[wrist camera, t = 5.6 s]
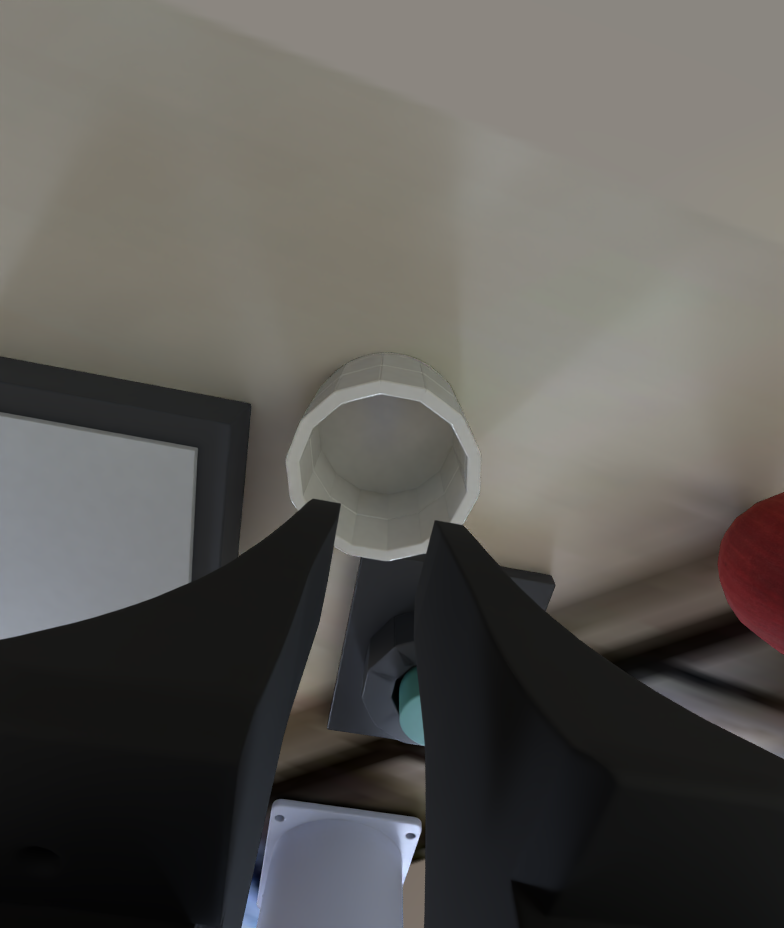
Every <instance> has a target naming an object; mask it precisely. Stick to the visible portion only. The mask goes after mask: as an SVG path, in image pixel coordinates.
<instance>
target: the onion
mask: <svg viewBox="0 0 784 928" xmlns="http://www.w3.org/2000/svg"><path fill="white" fill-rule="evenodd" d="M718 571H719V578H720V582H721V585H722V588H723V591H724V593H725V596H726V599H727V602H728V604H729V605H730V607H731V608H732V610H733V611H734V613H735V614H736V616H737V617H738V618H739V620H740V621H741V622H742V623H743V624H744V625H745V626H747V627H748V628H749V629H750V630H751V631H753V632H754V633H755V634H756V635H758V636H759V637H760V638H761V639H763V640H764V641H765V642H767V643H768V644H769V645H771V646H772V647H773V648H775V649H776V650H777V651H779V652H780V653H781V654H783V655H784V492H783V493H780V494H778V495H775V496H773V497H770V498H768V499H765V500H763V501H760V502H758V503H756V504H754V505H753V506H752V507H751V508H750V509H748V510H747V511H746V512H744V513H742V514H741V515H739V516H738V517H737V518H736V519H735V520H734V522H733V523H732V524H731V526H730V527H729V528H728V530H727V531H726V533H725V535H724V537H723V539H722V541H721V544H720V551H719V557H718Z"/></svg>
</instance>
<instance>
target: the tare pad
mask: <svg viewBox="0 0 784 928" xmlns="http://www.w3.org/2000/svg"><path fill="white" fill-rule="evenodd" d="M425 556H426V554H420V555H415V556H410V557H406V558H401V559H397V560H392V561H381V560H375V559H370V558H364V557H361V559H360V564H359V569H358V574H357V579H356V584H355V589H354V594H353V599H352V604H351V609H350V614H349V619H348V624H347V629H346V634H345V639H344V644H343V649H342V654H341V658H340V663H339V668H338V673H337V678H336V683H335V688H334V693H333V698H332V703H331V708H330V713H329V718H328V725H327V729H329V730H335V731H342V732H349V733H356V734H363V735H370V736H376V737H383V738H390V739H397V740H399V741H401V742H404V743H409V744H416V745H421V744H418V743H416V742H414V741H413V740H411V739H410V738H409V737H408V736H407V735H406V734H405V733H404V732H403V730H402V728H401V725H400V721H399V686H400V683H401V680H402V678H403V677H404V675H405V674H406V673H407V672H408V671H409V670H410V669H412V668H413V667H415V666H417V665H416V655H415V645H414V608H415V594H416V590H417V587H418V583H419V579H420V575H421V571H422V567H423V563H424V559H425ZM501 568H502V569H503V570H504V571H505V572H506V573H507V575H508V576H509V577H510V578H511V579H512V580H513V581H514V582H515V583H516V584H517V585H518V586H519V587H520V588H521V589H522V590H523V591H524V592H525V593H526V594H527V595H528V596H529V597H530V598H532V599H533V600H534V601H535V602H536V603H537V604H538V605H539V606H540V607H541V608H542V609H543V610H544V611H546V609H547V606H548V603H549V601H550V598H551V596H552V593H553V591H554V588H555V582H554V580H553V578H552V576H551V575H546V574H540V573H535V572H529V571H523V570H517V569H511V568H506V567H501ZM422 746H424V745H422Z"/></svg>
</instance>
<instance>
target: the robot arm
mask: <svg viewBox="0 0 784 928" xmlns="http://www.w3.org/2000/svg"><path fill="white" fill-rule="evenodd" d="M340 508H341V503H336V502H330V501H325V500H319V499H312V500H310V501H308V502H307V503H306V504H305V505H304V506H303V507H302V508H301V509H300V510H299V511H298V512H297V513H295V514H294V515H293V516H292V517H291V518H290V519H289V520H288V521H286V522H285V523H284V524H283V525H282V526H280V527H279V528H278V529H277V530H275V531H274V532H273V533H271V534H270V535H269V536H268V537H266V538H265V539H264V540H262V541H261V542H260V543H258V544H257V545H255V546H254V547H252V548H251V549H249V550H248V551H246V552H245V553H243V554H242V555H241V556H239V557H237V558H236V559H234V560H233V561H231V562H229V563H228V564H226V565H224V566H223V567H221V568H219V569H217V570H215V571H213V572H211V573H209V574H207V575H205V576H203V577H201V578H199V579H197V580H195V581H192V582H190V583H188V584H185V585H183V586H181V587H178V588H176V589H173V590H171V591H169V592H166V593H164V594H162V595H159V596H157V597H154V598H152V599H149V600H146V601H143V602H140V603H138V604H135V605H132V606H129V607H126V608H123V609H120V610H116V611H113V612H110V613H107V614H103V615H100V616H97V617H93V618H90V619H86V620H83V621H79V622H75V623H71V624H67V625H62V626H58V627H54V628H50V629H45V630H41V631H37V632H33V633H29V634H24V635H20V636H16V637H11V638H6V639H1V640H0V928H241V926H242V921H243V917H244V912H245V908H246V903H247V898H248V894H249V889H250V885H251V880H252V876H253V871H254V866H255V862H256V857H257V853H258V848H259V844H260V839H261V835H262V830H263V826H264V821H265V817H266V812H267V808H268V803H269V799H270V794H271V790H272V785H273V781H274V776H275V772H276V767H277V763H278V758H279V754H280V749H281V745H282V741H283V736H284V733H285V729H286V726H287V722H288V718H289V715H290V712H291V709H292V705H293V702H294V699H295V696H296V693H297V690H298V687H299V684H300V681H301V678H302V675H303V671H304V668H305V665H306V662H307V659H308V656H309V653H310V650H311V647H312V644H313V640H314V637H315V634H316V631H317V628H318V625H319V621H320V617H321V612H322V607H323V602H324V597H325V592H326V587H327V582H328V576H329V570H330V565H331V559H332V553H333V548H334V542H335V536H336V530H337V525H338V519H339V513H340ZM414 645H415V655H416V665H417V675H418V684H419V693H420V703H421V712H422V721H423V731H424V744H425V773H426V852H425V866H426V867H425V869H426V870H425V917H424V928H784V759H782V758H780V757H778V756H776V755H774V754H772V753H770V752H768V751H766V750H764V749H763V748H761V747H759V746H757V745H755V744H753V743H751V742H749V741H747V740H745V739H743V738H741V737H739V736H737V735H735V734H733V733H731V732H729V731H727V730H725V729H723V728H721V727H719V726H717V725H715V724H713V723H711V722H709V721H707V720H705V719H703V718H701V717H699V716H698V715H696V714H694V713H692V712H691V711H689V710H687V709H685V708H684V707H682V706H680V705H678V704H677V703H675V702H673V701H672V700H670V699H668V698H666V697H665V696H663V695H661V694H659V693H658V692H656V691H654V690H653V689H651V688H650V687H648V686H646V685H645V684H643V683H642V682H640V681H638V680H637V679H635V678H634V677H632V676H630V675H629V674H627V673H626V672H625V671H623V670H622V669H620V668H619V667H617V666H616V665H614V664H613V663H611V662H610V661H608V660H607V659H606V658H604V657H603V656H601V655H600V654H598V653H597V652H595V651H594V650H593V649H591V648H590V647H589V646H587V645H586V644H585V643H583V642H582V641H581V640H579V639H578V638H577V637H576V636H574V635H573V634H572V633H571V632H569V631H568V630H567V629H566V628H565V627H563V626H562V625H561V624H560V623H558V622H557V621H556V620H555V619H553V618H552V617H551V616H550V615H549V614H548V613H547V612H545V611H544V610H543V609H542V608H541V607H540V606H539V605H538V604H537V603H536V602H535V601H534V600H533V599H532V598H530V597H529V596H528V595H527V594H526V593H525V592H524V591H523V590H522V589H521V588H520V587H519V586H518V585H517V584H516V583H515V582H514V581H513V580H512V579H511V578H510V577H509V576H508V575H507V573H506V572H505V571H504V570H503V569H502V568H501V567H500V566H499V565H498V564H497V563H496V562H495V560H494V559H493V558H492V557H491V556H490V555H489V554H488V553H487V551H486V550H485V549H484V548H483V547H482V546H481V545H480V543H479V542H478V541H477V540H476V539H475V538H474V537H473V536H472V534H471V533H470V532H469V531H468V530H467V529H466V528H465V527H464V526H463V525H460V524H454V523H449V522H443V521H438V520H435V521H434V525H433V529H432V532H431V536H430V540H429V544H428V548H427V552H426V556H425V559H424V563H423V567H422V571H421V575H420V579H419V583H418V587H417V590H416V594H415V608H414ZM421 830H422V826H421V821H420V819H418V818H417V817H412V816H405V815H397V814H390V813H383V812H375V811H368V810H361V809H354V808H346V807H339V806H332V805H324V804H317V803H310V802H302V801H295V800H288V799H278V800H276V801H274V802H273V805H272V809H271V815H270V822H269V828H268V835H267V841H266V847H265V854H264V860H263V867H262V873H261V879H260V886H259V892H258V899H257V907H258V908H259V909H260V913H259V918H258V922H257V927H256V928H403V887H402V886H403V883H404V881H405V878H406V875H407V872H408V869H409V866H410V863H411V860H412V857H413V854H414V851H415V848H416V845H417V842H418V839H419V836H420V833H421Z"/></svg>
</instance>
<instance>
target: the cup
mask: <svg viewBox="0 0 784 928" xmlns="http://www.w3.org/2000/svg"><path fill="white" fill-rule="evenodd" d="M285 462H286V470H287V478H288V487H289V495H290V499H291V501H292V503H293V504H294V506H295V507H296V509H297V510H298V511H299V510H300V509H301V508H302V507H303V506H304V505H305V504H306V503H307V502H308V501H310V500H312V499H319V500H325V501H330V502H336V503H341V508H340V513H339V519H338V525H337V530H336V536H335V542H334V547H336V548H337V549H339V550H340V551H342V552H343V553H345V554H348V555H352V556H358V557H364V558H370V559H375V560H381V561H392V560H397V559H401V558H406V557H410V556H415V555H420V554H424V553H426V552H427V548H428V544H429V540H430V536H431V532H432V529H433V525H434V521H435V520H438V521H443V522H449V523H454V524H460V525H463V524H464V522H465V520H466V518H467V517H468V515H469V513H470V511H471V509H472V508H473V506H474V504H475V502H476V501H477V499H478V497H479V494H480V481H481V452H480V449H479V447H478V445H477V442H476V440H475V438H474V435H473V433H472V431H471V428H470V426H469V424H468V421H467V419H466V417H465V414H464V412H463V410H462V408H461V406H460V404H459V402H458V400H457V398H456V395H455V394H454V392H453V390H452V387H451V385H450V384H449V383H448V381H446V380H445V379H444V378H443V377H442V376H441V375H440V374H439V373H438V372H437V371H436V370H434V369H433V368H432V367H431V366H429V365H427V364H426V363H424V362H422V361H420V360H418V359H415V358H413V357H410V356H406V355H402V354H396V353H377V354H370V355H366V356H363V357H359V358H357V359H355V360H352V361H350V362H348V363H347V364H345V365H343V366H342V367H341V368H339V369H338V370H337V371H336V372H334V373H333V374H332V375H331V376H330V378H329V379H328V380H327V381H326V382H325V383H324V384H322V385H321V387H320V388H319V390H318V391H317V393H316V395H315V397H314V398H313V400H312V402H311V403H310V405H309V407H308V409H307V410H306V412H305V414H304V415H303V417H302V419H301V420H300V422H299V425H298V428H297V430H296V433H295V435H294V438H293V440H292V443H291V445H290V448H289V451H288V453H287V456H286V460H285Z"/></svg>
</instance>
